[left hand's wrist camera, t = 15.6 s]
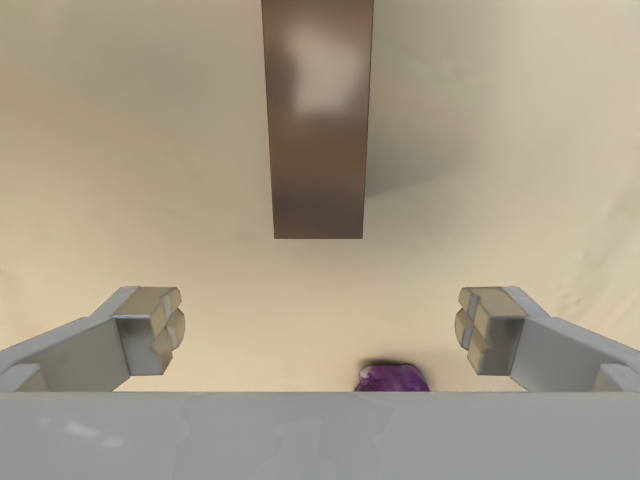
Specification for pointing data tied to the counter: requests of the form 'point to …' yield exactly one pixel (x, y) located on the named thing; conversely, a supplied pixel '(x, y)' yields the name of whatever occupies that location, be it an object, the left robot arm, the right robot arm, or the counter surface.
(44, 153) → the counter surface
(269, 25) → the box
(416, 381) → the figurine
